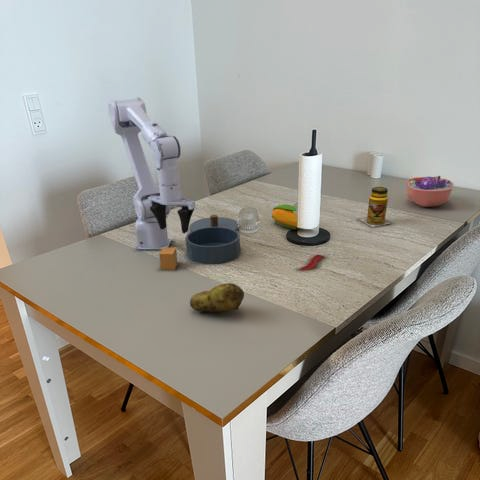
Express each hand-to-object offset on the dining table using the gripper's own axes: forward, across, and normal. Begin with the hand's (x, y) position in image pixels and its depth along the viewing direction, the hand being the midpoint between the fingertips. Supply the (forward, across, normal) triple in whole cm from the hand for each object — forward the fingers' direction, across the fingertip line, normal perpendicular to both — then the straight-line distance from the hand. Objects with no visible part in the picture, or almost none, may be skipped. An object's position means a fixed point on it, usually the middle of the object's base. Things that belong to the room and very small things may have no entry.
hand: (174, 230), depth 136 cm
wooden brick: (+10, 0, +5) cm, 11 cm away
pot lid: (+9, +3, -28) cm, 29 cm away
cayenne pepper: (+10, -38, -14) cm, 42 cm away
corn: (+10, -23, -39) cm, 46 cm away
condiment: (+10, -46, -55) cm, 73 cm away
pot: (+10, -7, -9) cm, 15 cm away
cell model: (+10, -60, -82) cm, 102 cm away
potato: (+10, -26, +22) cm, 36 cm away
